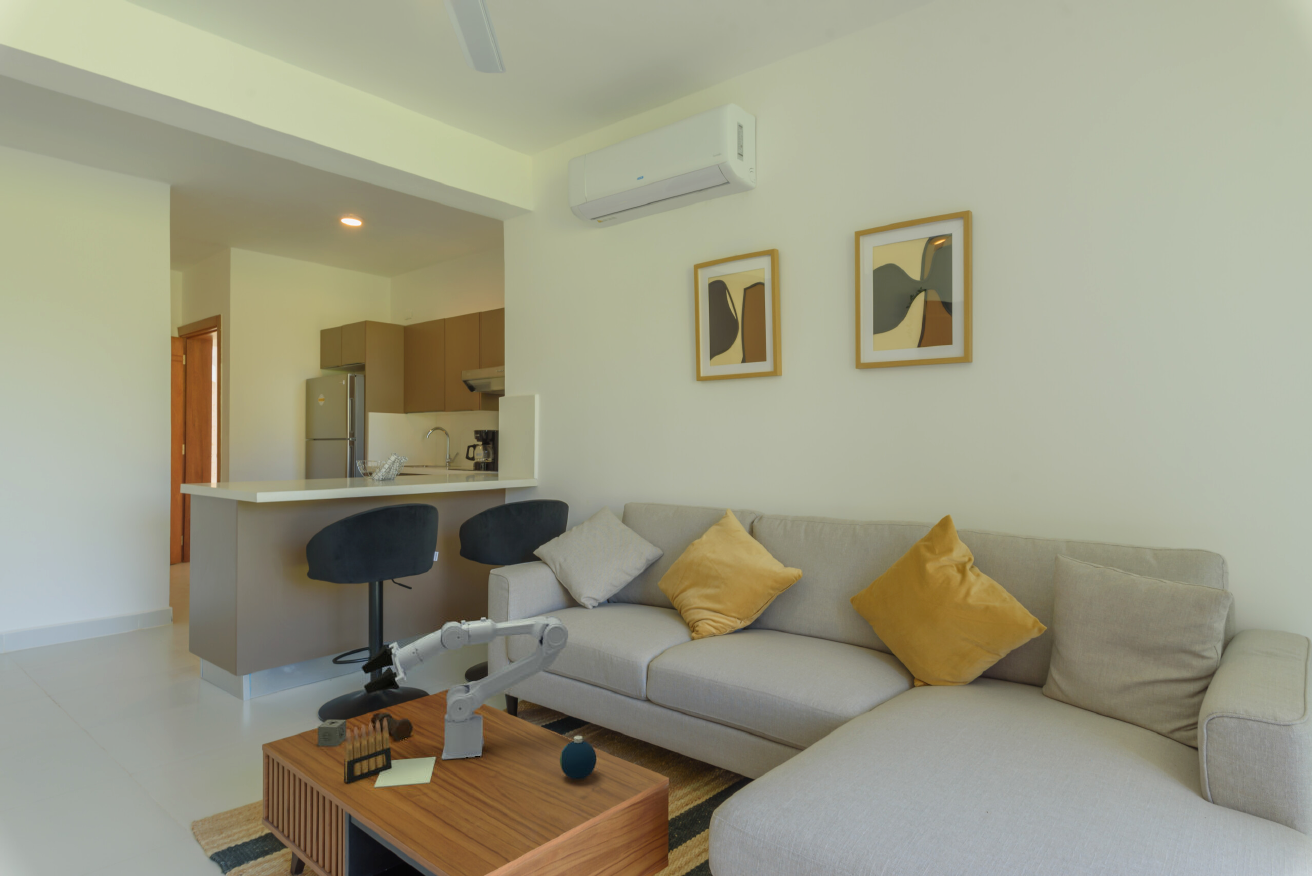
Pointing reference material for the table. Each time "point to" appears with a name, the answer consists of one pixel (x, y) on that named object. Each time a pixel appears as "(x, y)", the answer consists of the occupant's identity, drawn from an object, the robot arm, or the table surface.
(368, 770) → the ammunition clip
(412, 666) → the robot arm
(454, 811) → the table surface
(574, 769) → the christmas ornament
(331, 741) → the dice cube
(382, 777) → the mat
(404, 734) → the bolt
